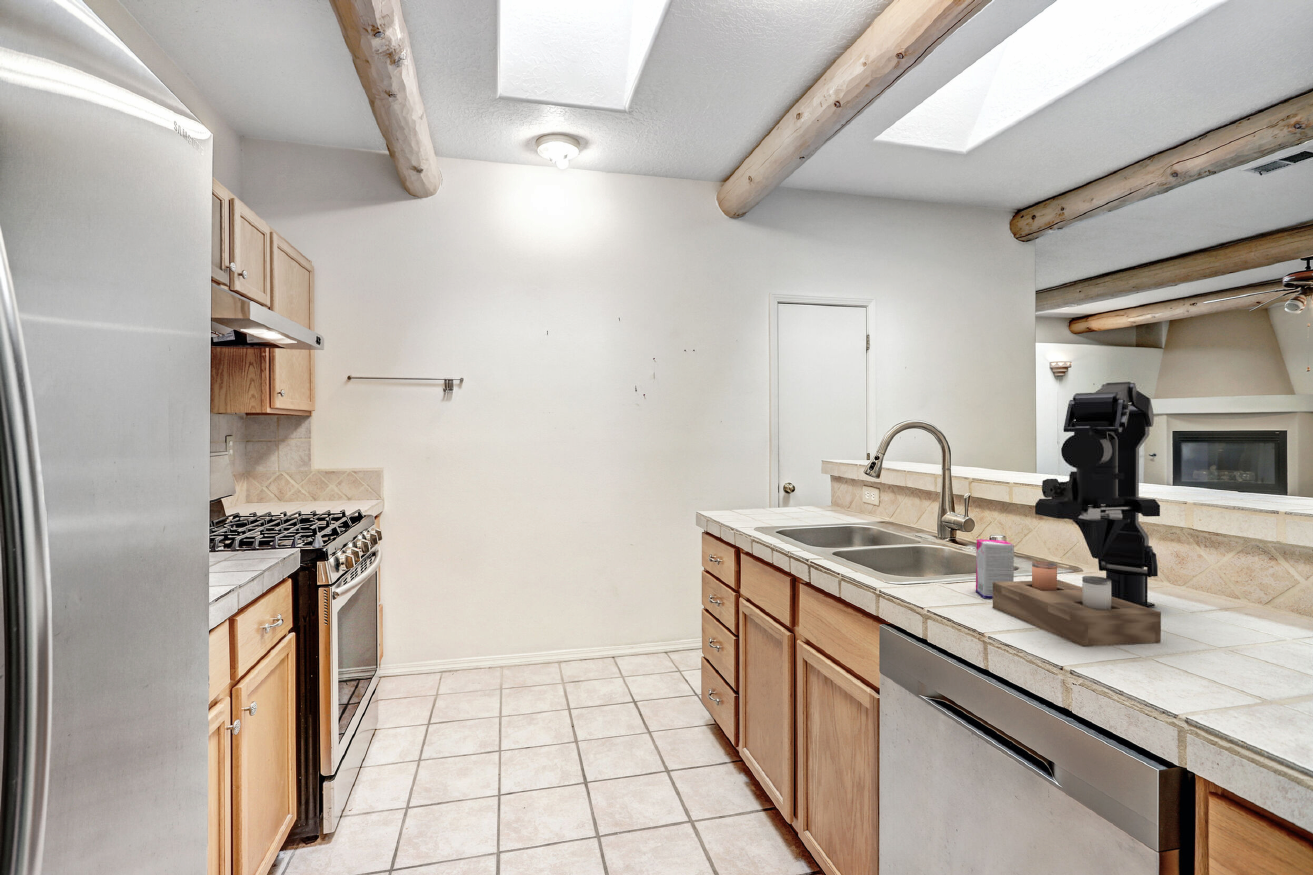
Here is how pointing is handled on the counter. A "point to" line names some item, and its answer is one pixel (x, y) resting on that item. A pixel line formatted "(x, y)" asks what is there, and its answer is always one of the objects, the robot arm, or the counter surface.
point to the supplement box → (993, 565)
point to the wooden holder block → (1077, 615)
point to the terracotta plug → (1044, 576)
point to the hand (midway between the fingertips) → (1096, 558)
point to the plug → (1096, 592)
